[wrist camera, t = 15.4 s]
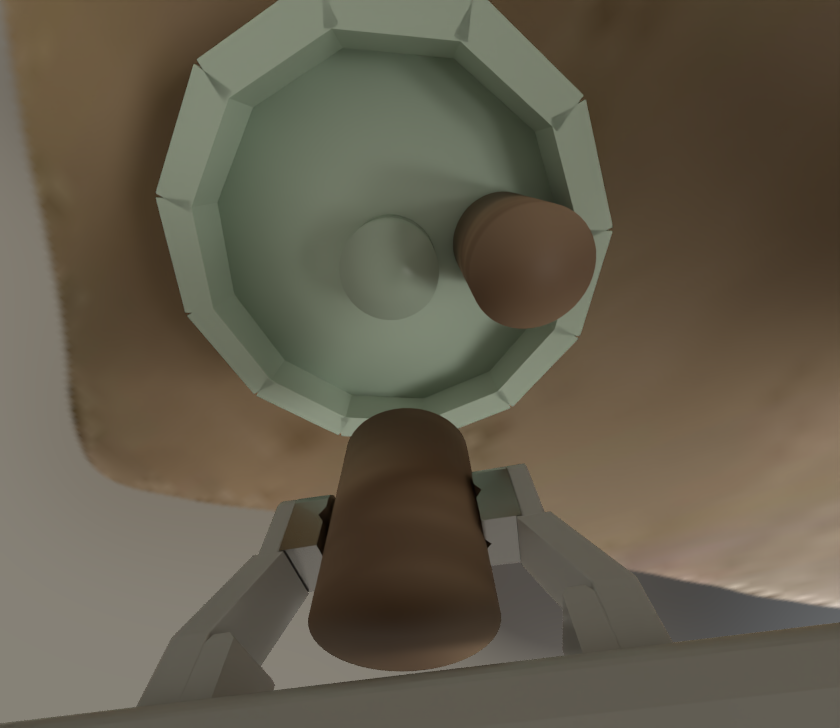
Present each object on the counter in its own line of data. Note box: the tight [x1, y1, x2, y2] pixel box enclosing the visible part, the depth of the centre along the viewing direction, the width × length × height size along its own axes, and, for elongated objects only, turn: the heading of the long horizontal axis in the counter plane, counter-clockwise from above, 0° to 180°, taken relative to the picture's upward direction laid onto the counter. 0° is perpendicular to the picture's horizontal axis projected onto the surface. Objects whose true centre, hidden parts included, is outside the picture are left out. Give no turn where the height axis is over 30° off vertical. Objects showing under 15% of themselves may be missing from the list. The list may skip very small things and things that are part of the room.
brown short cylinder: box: [308, 408, 501, 671], centre depth 10 cm, size 4×4×5 cm
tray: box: [156, 0, 613, 436], centre depth 16 cm, size 17×17×3 cm
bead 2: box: [453, 191, 596, 329], centre depth 14 cm, size 4×4×5 cm
